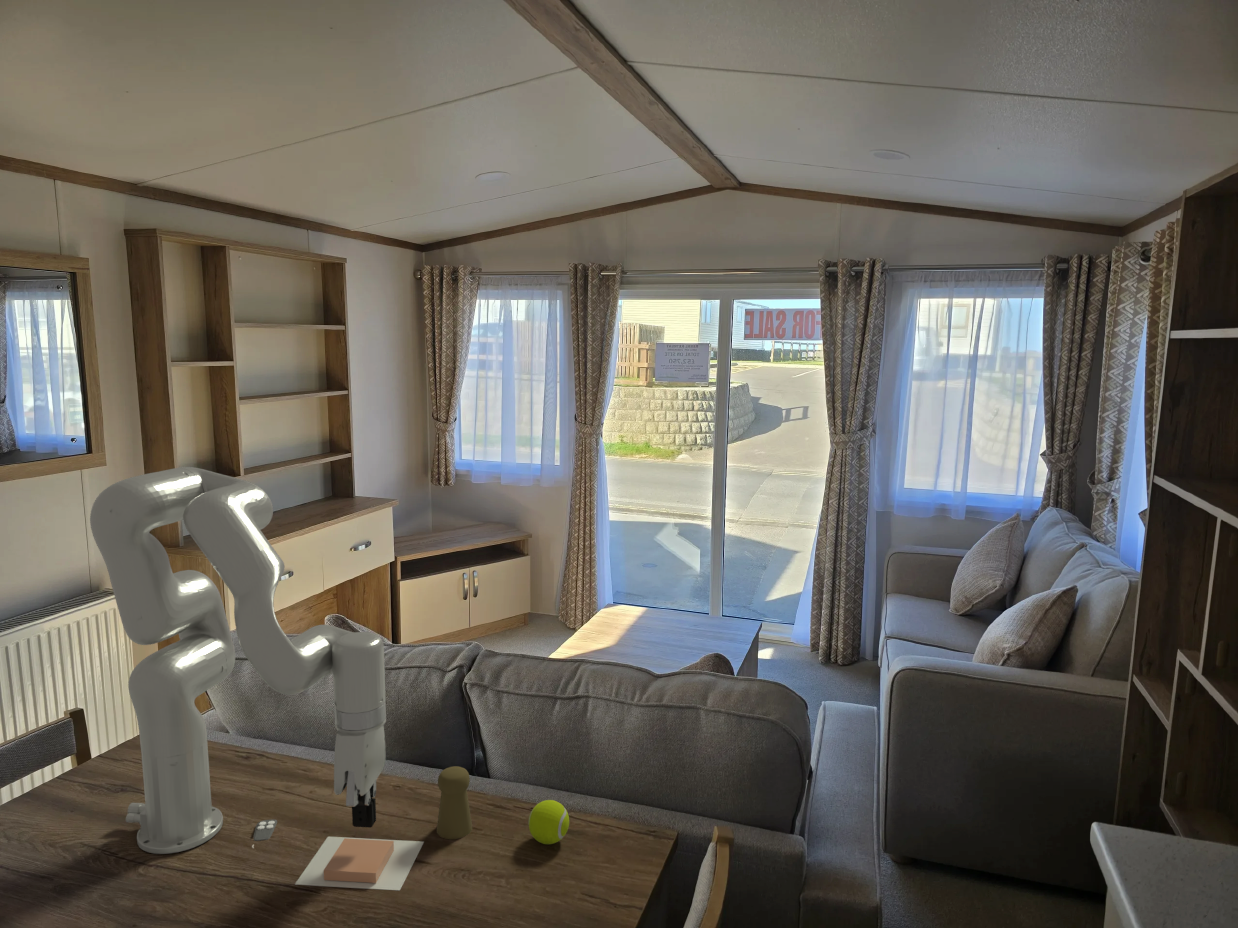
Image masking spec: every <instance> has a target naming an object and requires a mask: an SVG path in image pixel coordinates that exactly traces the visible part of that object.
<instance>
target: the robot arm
mask: <svg viewBox="0 0 1238 928" xmlns="http://www.w3.org/2000/svg"><path fill="white" fill-rule="evenodd" d="M273 513H274V507H273V503H272V500H271V498H270V496H269V495H268V493H266V491H265V490H264V489H263V488H262V487H260V486H259V485H257V484H255V483H253V482H250V481H248V480H244V479H241V478H237V477H234V476H230V475H228V474H227V475H226V474H223V473H218V472H214V471H211V470H207V469H203V468H199V467H192V466H183V467H182V466H181V467H180V466H179V467H175V468H170V469H166V470H165V469H164V470H160V471H155V472H154V471H153V472H150V473H149V472H148V473H144V474H140V475H139V474H138V475H136V476H132V477H128V478H125V479H121V480H119V481H117V482H114V483H113V484H111V485H109V486H107V487H106V488H105V489H103V490H102V491H101V492H100V493H99V495H98V496H97V497H96V499H95V500H94V502H93V503H92V507H91V510H90V515H89V516H90V517H89V523H90V529H91V533H92V537H93V539H94V541H95V543H96V546H97V548H98V550H99V552H100V554H101V556H102V559H103V560H104V563H105V566H106V569H107V571H108V575H109V576H108V577H109V580H110V584H111V588H112V592H113V595H114V600H115V603H116V606H117V610H118V614H119V617H120V620H121V623H122V626H123V629H124V632H125V634H126V636H127V637H128V638H129V639H130V640H131V641H132V642H133V643H135V644H137V645H141V646H150V645H155V644H158V643H161V642H163V641H165V640H169V639H170V638H172V637H175V636H177V635H178V637H179V640H177V641H175V642H173V643H171V644H169V645H166V646H164V647H163V648H160V649H159V650H156V651H155V652H152V653H151V654H149V655H148V656H146V657H144V658H143V659H142V660H141V661H140V662H139V663H137V664H136V666H135V667H134V668H133V670H132V671H131V673H130V676H129V679H128V684H127V686H128V692H129V697H130V700H131V703H132V706H133V709H134V712H135V717H136V720H137V721H136V722H137V725H138V731H139V733H138V734H139V742H140V751H141V764H142V765H141V766H142V777H143V790H144V791H143V792H144V801H145V802H131V803H129V805H128V807H127V814H126V817H125V822H126V823H132V824H133V823H138V824H139V825H140V828H139V829H138V831H137V834H136V841H137V845H138V847H139V849H141V850H143V851H145V852H146V853H151V854H155V855H165V854H166V855H168V854H175V853H179V852H180V853H181V852H183V851H188V850H190V849H193V848H196V847H198V846H201V845H202V844H204V843H206V842H208V841H209V840H211V839H212V838H213V837H214V836H216V835H217V834H218V833H219V831H220V830H221V829H222V826H223V824H224V816H223V813H222V812H221V810H220V809H219V808H217V807H215V806H213V805H212V792H211V777H210V759H209V751H208V750H209V748H208V746H209V744H208V734H207V733H208V732H207V725H206V721H205V718H204V716H203V715H202V713H201V712H200V711H199V709H198V708H197V706H196V704H195V701H196V698H198V697H199V696H200V695H202V694H203V693H205V692H207V691H209V689H211V688H213V687H215V686H216V685H218V684H220V683H221V682H222V681H224V680H225V679H226V678H227V677H229V675H230V674H231V673H232V671H233V669H234V667H235V664H236V651H235V650H236V649H235V646H234V645H235V644H234V642H233V641H234V640H233V638H232V633H231V630H230V626H229V623H228V618H227V615H226V611H225V606H224V603H223V599H222V596H221V593H220V590H219V589H218V587H217V585H216V584H215V583H214V581H213V580H212V579H211V578H210V576H208V575H206V574H205V573H203V572H201V571H198V570H194V569H187V570H180V571H177V572H173V569H172V566H171V563H170V558H169V555H168V553H167V551H166V548H165V547H164V545H163V544H162V543H161V542H160V541H159V539H157V537H156V536H154V535H153V534H152V533H150V532H151V531H152V530H153V529H156V528H159V527H163V526H166V525H170V524H174V523H177V522H181V521H183V524H184V527H185V528H186V531H187V532H188V534H189V535H190V537H191V538H192V539H193V541H194V542H195V544H196V545H197V546H198V548H199V549H200V551H201V552H202V554H203V555H204V556H205V558H206V559H207V560H208V562H209V563H210V564H211V566H212V567H213V569H214V570H215V572H216V573H217V575H218V576H219V577H220V578H221V580H222V581H223V583H224V584H225V585H226V587H227V588H228V589H229V591H230V593H231V595H232V597H233V600H234V601H233V603H234V609H233V613H234V615H233V616H234V623H235V624H234V625H235V630H236V635H237V640H238V642H239V646H240V647H241V651H242V652H243V654H244V656H245V657H246V659H247V660H248V662H249V663H250V664H251V666H252V667H253V668H254V670H255V671H256V673H257V675H259V677H260V678H261V679H262V680H263V681H264V682H265V684H266V685H267V686H268V687H269V688H271V689H272V690H274V691H275V692H276V693H278V694H281V695H285V696H294V695H299V694H300V693H303V692H305V691H307V690H308V689H309V688H311V687H312V686H314V685H315V684H316V683H318V682H320V680H322V679H323V678H325V677H328V676H330V675H332V680H333V681H332V683H333V685H332V686H333V705H334V727H335V729H336V730H337V731H336V737H335V745H334V759H333V761H334V763H333V790H334V794H335V795H336V796H337V795H341V794H342V792H343V791H344V790H345V789H346V798H345V799H346V800H345V806H346V807H351V817H352V818H351V819H352V823H351V824H352V826H353V827H355V828H369V829H370V828H373V826H374V825H375V823H376V822H377V807H376V806H377V803H376V798H375V797H376V794H377V780H378V778H379V776H380V774H381V773H382V771H383V769H384V768H385V766H386V737H385V726H384V725H385V724H386V722H387V705H386V704H387V703H386V701H387V700H386V672H385V646H384V642H383V641H384V640H383V638H382V637H380V635H378V634H376V633H374V632H369V631H358V632H357V631H354V632H352V631H350V630H346V629H344V628H341V627H337V626H334V625H330V624H319V625H318V624H317V625H315V626H312V627H309V628H308V629H307V630H305V631H303V632H301V633H300V634H298V635H296V636H295V637H293V638H292V639H290V638H289V637H288V636H287V635H286V633H285V632H284V630H283V628H282V627H281V625H280V623H279V622H278V619H277V615H276V613H275V606H274V605H275V604H274V602H275V601H274V599H275V594H276V590H277V588H278V585H279V582H280V579H281V578H282V576H283V575H284V572H285V569H286V568H285V562H284V560H283V559H282V557H281V556H280V555H279V554H278V552H277V551H276V550H275V548H274V547H273V546H272V544H271V543H270V541H269V540H268V539H267V537H266V536H265V534H264V533H263V531H262V530H263V529H265V528H266V527H267V526H268V525H270V522H271V521H272V519H273Z"/></svg>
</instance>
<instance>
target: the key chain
mask: <svg viewBox="0 0 1238 928" xmlns="http://www.w3.org/2000/svg"><path fill="white" fill-rule="evenodd" d="M277 824H278V820H277V819H273V818H272V819H264V820H260V821H259V822H257V824H256V825H255V829H254V833H253V837H252V838H253V841H255V842H261V841H268V840H270V838H271V837H272V835H273V833H274V831H275V828H276V826H277ZM254 846H255V844H252V845H251V848H252V849H255V847H254Z"/></svg>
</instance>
